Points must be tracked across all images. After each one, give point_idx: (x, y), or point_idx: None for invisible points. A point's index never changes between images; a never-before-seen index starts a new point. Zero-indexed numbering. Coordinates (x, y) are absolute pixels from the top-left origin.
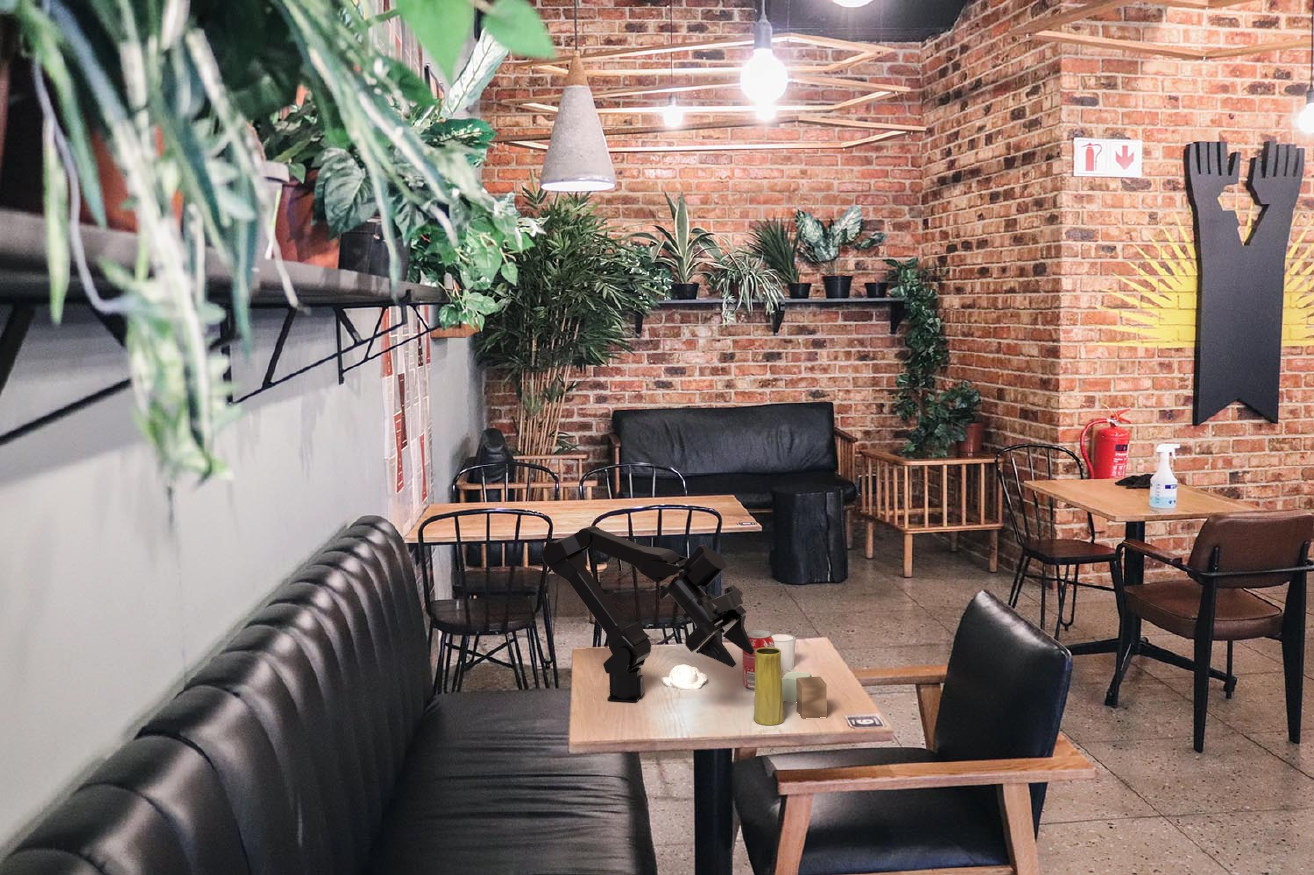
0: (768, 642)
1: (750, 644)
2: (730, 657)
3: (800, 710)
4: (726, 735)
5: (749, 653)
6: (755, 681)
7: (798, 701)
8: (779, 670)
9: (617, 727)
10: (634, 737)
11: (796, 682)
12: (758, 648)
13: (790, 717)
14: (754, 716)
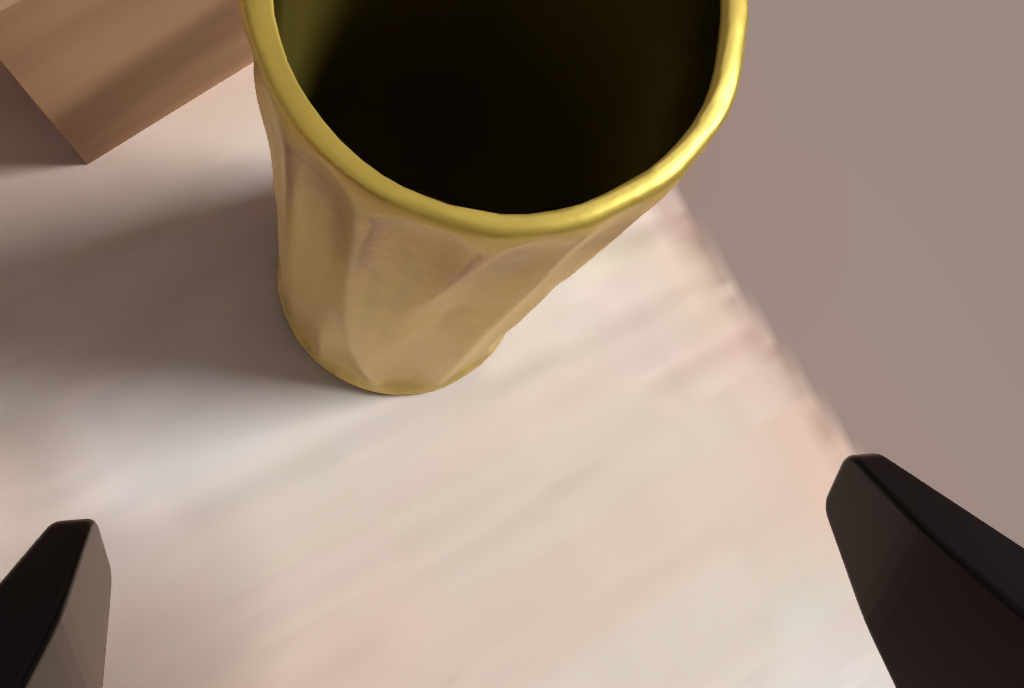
0: None
1: (9, 631)
2: (989, 531)
3: (199, 68)
4: (804, 417)
5: (105, 604)
6: (548, 293)
7: (123, 83)
8: None
9: None
10: None
11: (3, 47)
12: (456, 214)
13: (260, 154)
14: (461, 369)
